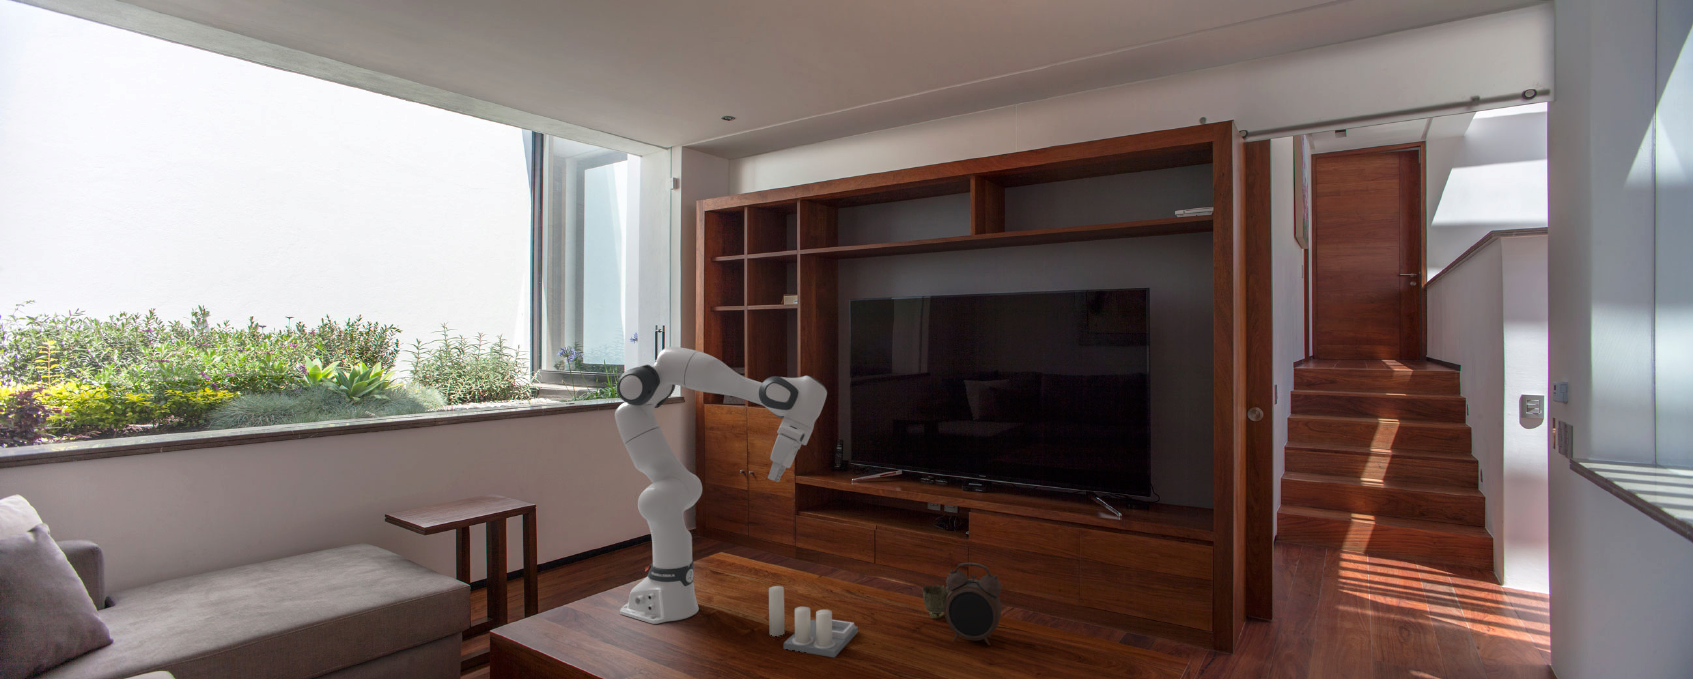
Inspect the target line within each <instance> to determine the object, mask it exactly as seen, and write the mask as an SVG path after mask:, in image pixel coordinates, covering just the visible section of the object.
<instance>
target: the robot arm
mask: <svg viewBox="0 0 1693 679" xmlns="http://www.w3.org/2000/svg"><path fill="white" fill-rule="evenodd" d="M676 386H679V387H683V388H686V389H689V390H693V391H697V392H702V393H710V394H717V395H718V394H719V395H725V396H729V397H735V398H739V399H741V400H744V401H748V402H751V403H754V404H757V405H760V406H762V407H765V408H766V409H767V410H768V411H770V412H771V413H772V414H773V415H774V416H775V417H777V418H779V419H782V420H781V422H780V425H779V427H778V429H777V431H776V433H777V434H778V435H777V437H776V439H775V442H774V445H773V448H772V450H771V453H770V459H769V460H770V461H772V465H771V467H770V470H769V474H768V476H767V479H768V480H770V481H773V482H777V483H779V482H780V480H781V478H782V476H783V474H784V473H785V471H786V469H790V468H791V467H792V465H793V463H794V461H795V458H796V455H797V453H798V451H799V450H801V447H802V446H807V444H808V442H809V439H811V435H812V433H813V431H814V426H815V423H816V421H817V419H818V418H819V416H820V415H821V413H822V410H823V407H824V406H825V402H826V399H827V395H828V391H827V389H826V388H827V387H825V385H824V384H823V383H822V382H821V381H819V380H817V379H816V378H814V377H813V376H810V375H804V376H799V377H783V376H778V375H777V376H776V375H775V376H774V375H773V376H770V377H767V378H766V379H764V380H763V381H762V382H760V381H757V380H754V379H751V378H748V377H746V376H743V375H741V374H739V373H738V372H736V371H735V370H734V369H732V368H731V367H729V366H728V365H727V364H726V363H725V362H723V361H722V360H721V359H718V358H716V357H715V356H712V355H710V354H708V353H705V352H703V351H699V350H695V349H691V348H686V347H679V346H667V347H664V348H663V349H662V350H661V351H660V352H659V353H658V355H657V358H656V360H655V363H654V364H652V365H650V364H643V365H641V366H636V367H632V368H630V369H628V370H626V371H624V372H623V373H622V374H621V376H619V378H618V379H617V383H616V392H617V394H618V397H619V398H620V399H621V400H622V403H621V404H620V405H619V406H618V407H617V408H616V409H615V412H614V419H615V423H616V426H617V427H616V428H617V430H618V433H619V436H620V438H621V440H622V443H623V445H624V448H625V449H626V451H627V453H628V456H629V458H630V459H631V462H632V464H633V466H634V467H635V469H636V470H637V471H638V472H640V473H642V474H644V475H645V476H646V477H647V478H648V479H649V480H650V482H651V484H650V485H648V486H647V487H646V488H645V489H644V490H643V491H642V492H641V493H640V495H639V497H638V499H637V509H638V512H639V514H640V515H641V517H642V518H643V519H644V520H646V522H647V525H648V528H649V531H650V535H651V542H652V544H651V546H652V562H651V563H649V565H648V566H646V567H644V569H645V570H644V572H648V574H647V576H646V577H645V578H644V579H642V580H641V581H640V582H639V583H637V584H636V585H635V586H634V587H633V588H631V591H630V592H629V596H628V601H627V603H625V604H624V605H623V606H622V607H621V608H620V609H619V613H620V615H622V616H626V617H629V618H632V619H636V620H639V621H643V622H646V623H648V624H653V625H657V624H662V623H666V622H673V621H681V620H684V619H688V618H690V617H692V616H694V615H696V614H697V613H698V612H699V610H700V608H699V605H698V601H697V598H696V597H697V596H696V594H695V593H696V592H695V586H694V578H695V562H694V559H693V537H692V533H691V532H690V530H688V529H687V527H686V523H685V518H684V512H685V511H687V510H689V509H691V508H692V507H693V506H694V505H695V504H696V503H697V502H698V501H699V499H700V498H701V496H702V494H703V485H702V482H701V479H700V478H699V477H698V476H697V475H696V474H694V473H692V472H690V471H689V470H688V469H687V467H685V465H684V464H683V463H682V462H681V461H680V460H679V458H678V457H677V456H676V455H675V453H674V452H673V449H671V446H670V444H669V443H668V440H667V439H666V436H665V435H664V433H663V431H662V429H661V427H660V425H659V422H658V420H657V419H656V416H655V409H657V408H659V407H661V406H662V404H664V402H665V401H666V400H668V399H669V398H670V397H671V395H672V394H673V393H674V391H675V389H676Z"/></svg>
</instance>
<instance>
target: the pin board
mask: <svg viewBox="0 0 1693 679" xmlns="http://www.w3.org/2000/svg"><path fill="white" fill-rule="evenodd" d="M858 627H859V626H856V625H855V622H851V621H845V620H844V621H843V620H837V619H833V612H832V610H830V609H819V610H817V611H816V612H815V619H811V608H810V607H808V606H797V607H795V608H794V633H793V634H792V635H791V636H790V637H789V638H787V639H786V640H785V641H784V642H783V649H784V650H786V649H788V651H792V650H795V651H794V652H798V651H800V653H804V652H806V653H807V654H810V655H811V654H812V655H817V656H824V657H829V658H836V657H837V656H838V654H839V653H841V651H842V650H843V649H844V648H845V647H846V646H847V645H848V644H849V642H851V640H853V638H854V637H855V636H856V635H857V634H858V633H859V628H858ZM806 653H805V654H806Z"/></svg>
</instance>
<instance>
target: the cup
mask: <svg viewBox="0 0 1693 679" xmlns="http://www.w3.org/2000/svg"><path fill="white" fill-rule="evenodd" d="M949 592H950V590H949V589H948V587H947V586H946V587H945V585H942V586H941V585H940V584H938V585H937V584H934V585H933V584H930V585H927V584H926V585H924V586H923V587H922V595H923V603H924V607H925V610H927V611H928V612H929V616H930V618H931V619H935V620H936V619H937V620H938V619H939V620H940V619H941V618H943V615H944V607H945V602H946V598H947V596H948V594H949Z"/></svg>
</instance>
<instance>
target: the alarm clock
mask: <svg viewBox="0 0 1693 679" xmlns="http://www.w3.org/2000/svg"><path fill="white" fill-rule="evenodd" d="M967 566H971V567H977V568H978V567H979V568H981V569H983V570H985V572H986V575H984V576H982V577H981V578H980V579H977V575H975V574H970V575H969V577H968V575H967V574H965V572H963V571H959V569H960V568H961V567H967ZM949 572H950V573H949V574H947V578H946V581H945V584H946V587H948V589H949V594H948V596H947V598H946V602H945V607H944V612H943V614H944V617H945V620H946V623H947V625H948V626H949V628H950V629H951V631H952V632H953V633H954V634H955V636H954V638H952V639H953V641H954V642H956V640H957V639H958V638H959V637H960V638H962V639H963V640H964V639H965V640H968V641H975V642H976V641H982V640H984V641H985V643H987V644H990V645H991V643H990V641H989V639H988V638H991V637H992V634H993V633H994V632H995V631H996V630H997V628H998V626H999V624H1000V621H1001V619H1002V603H1001V599H1000V597H999V596H1000V594H1001V592H1002V587H1003V586H1002V582H1000V580H999V579H998V575H997V574H995V575H992V572H991V571H990V570H989V568H988V567H987V566H986V565H984V564H981V563H978V562H977V563H976V562H963V563H959V564H958V565H957V566H956V568H955V570H954V569H952V568H951V569H950V570H949ZM987 644H986V645H987Z"/></svg>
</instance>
